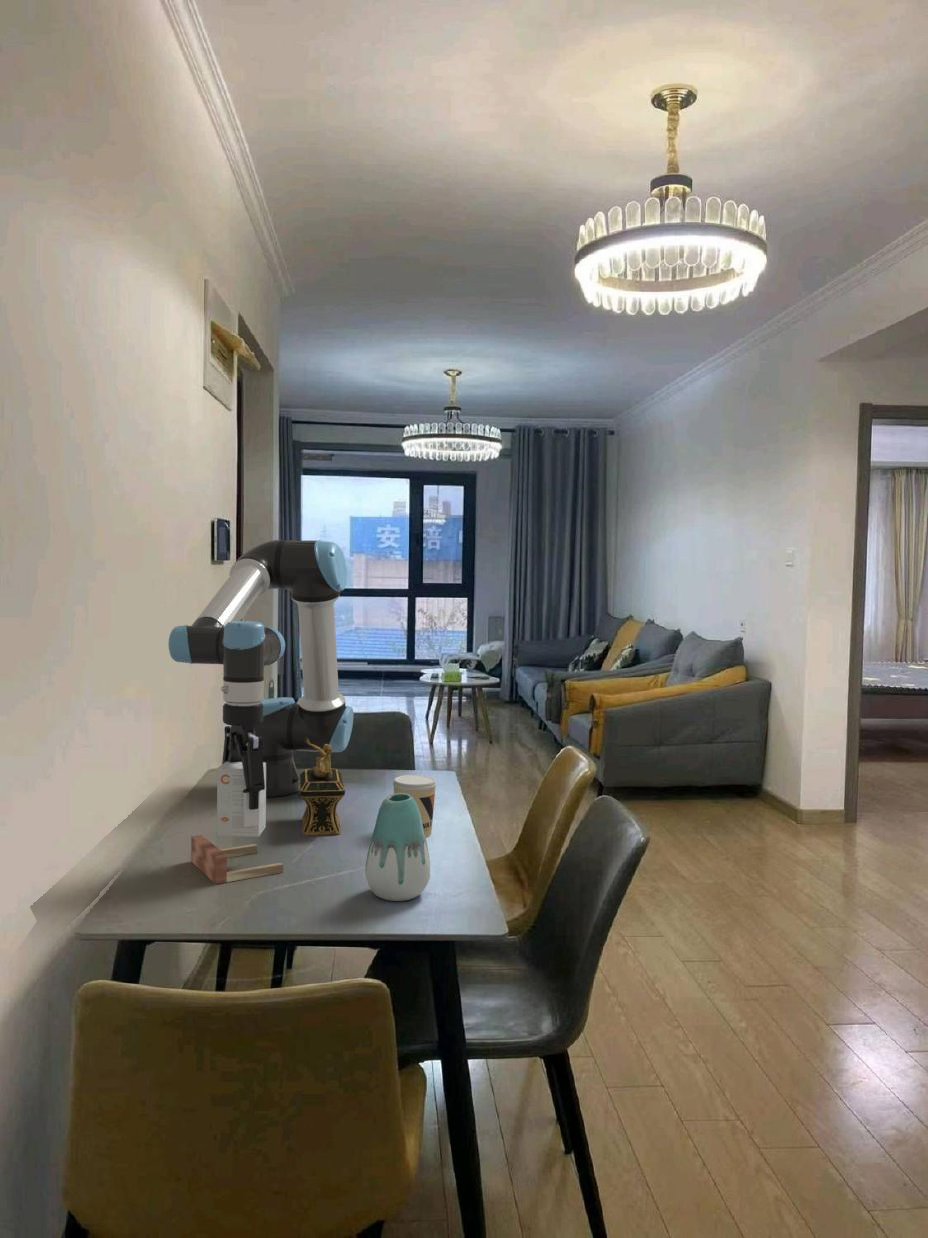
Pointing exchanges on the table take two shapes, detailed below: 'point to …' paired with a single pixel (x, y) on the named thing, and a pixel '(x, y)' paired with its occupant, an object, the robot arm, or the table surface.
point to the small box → (236, 802)
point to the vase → (398, 851)
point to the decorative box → (321, 795)
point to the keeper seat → (216, 861)
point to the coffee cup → (419, 796)
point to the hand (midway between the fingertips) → (241, 818)
